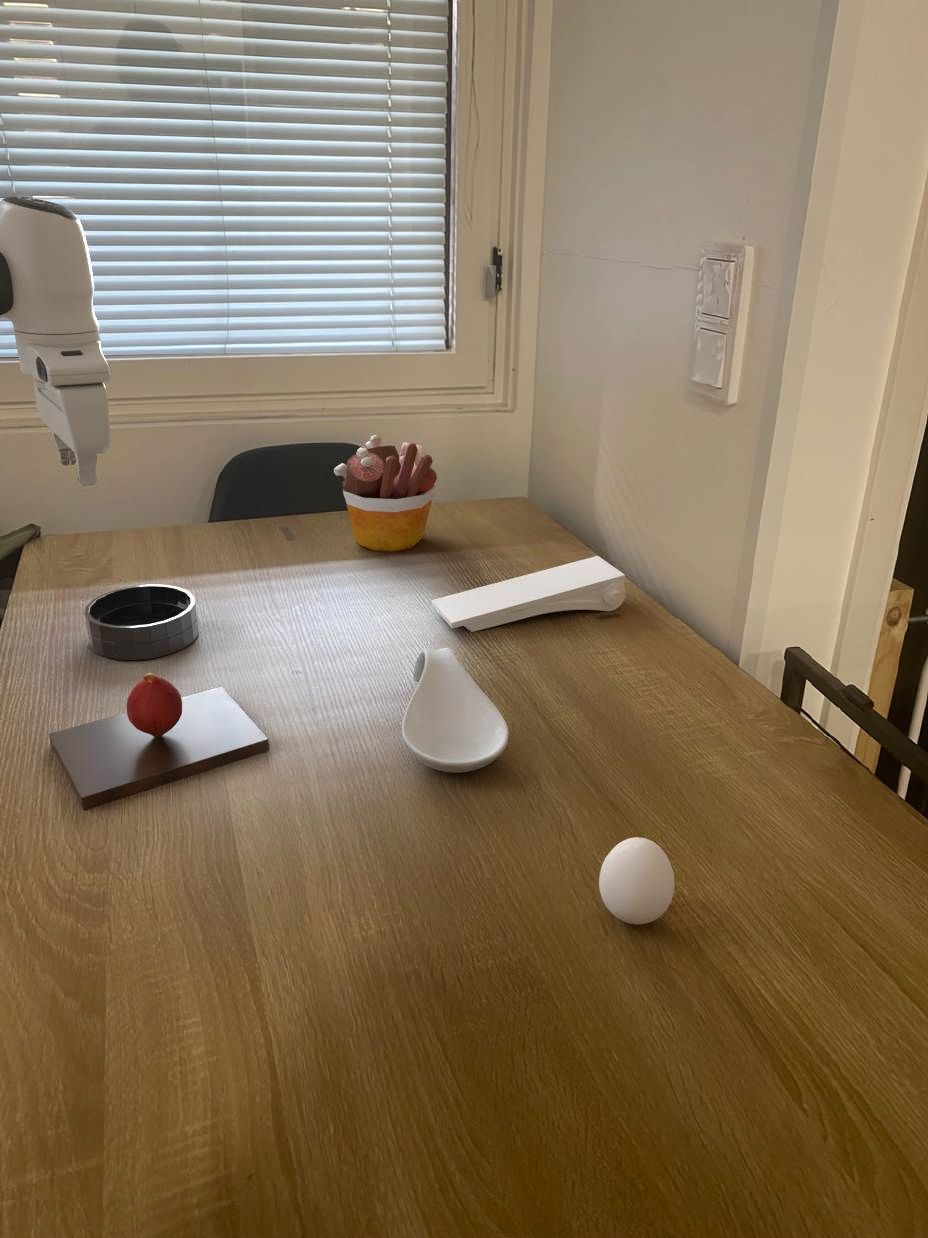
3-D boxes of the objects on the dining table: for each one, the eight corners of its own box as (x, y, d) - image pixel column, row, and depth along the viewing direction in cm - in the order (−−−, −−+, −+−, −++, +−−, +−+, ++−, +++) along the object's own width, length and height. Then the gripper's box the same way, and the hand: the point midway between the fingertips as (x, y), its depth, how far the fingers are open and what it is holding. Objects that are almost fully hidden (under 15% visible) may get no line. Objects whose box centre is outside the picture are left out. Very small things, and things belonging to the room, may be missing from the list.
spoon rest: (518, 783, 97) (522, 726, 94) (409, 794, 95) (409, 736, 92) (473, 677, 118) (474, 627, 115) (383, 684, 116) (382, 633, 113)
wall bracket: (456, 667, 132) (625, 618, 140) (455, 630, 127) (630, 581, 135) (431, 625, 138) (593, 580, 146) (430, 588, 134) (597, 543, 142)
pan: (107, 671, 117) (101, 637, 115) (78, 630, 127) (72, 597, 125) (213, 645, 124) (210, 612, 122) (178, 608, 135) (174, 577, 133)
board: (83, 810, 91) (81, 798, 90) (50, 745, 101) (48, 733, 101) (269, 750, 102) (268, 739, 101) (222, 696, 112) (221, 686, 111)
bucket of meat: (326, 531, 166) (321, 422, 158) (407, 519, 174) (407, 415, 165) (368, 568, 150) (366, 450, 142) (456, 553, 158) (459, 440, 149)
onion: (142, 720, 104) (133, 658, 100) (192, 722, 104) (185, 660, 100) (123, 749, 98) (113, 684, 95) (176, 751, 98) (167, 686, 95)
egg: (670, 947, 76) (682, 874, 73) (593, 936, 77) (602, 863, 74) (668, 895, 82) (679, 825, 79) (597, 885, 83) (605, 815, 80)
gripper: (13, 342, 109) (31, 455, 115) (51, 372, 94) (70, 500, 100) (68, 340, 113) (83, 450, 119) (113, 368, 98) (128, 492, 103)
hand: (77, 473), depth 109 cm, fingers open, 8 cm apart
